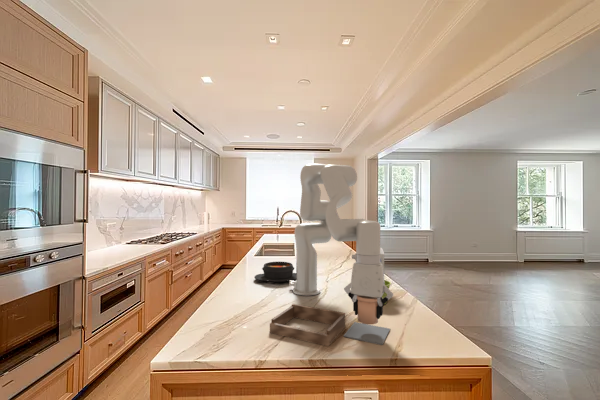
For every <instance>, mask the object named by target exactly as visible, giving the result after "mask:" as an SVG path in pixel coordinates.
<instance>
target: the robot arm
mask: <svg viewBox="0 0 600 400" xmlns="http://www.w3.org/2000/svg"><path fill="white" fill-rule="evenodd" d="M299 176H300V177H299V178H300V184H301V198H300V208H299V209H300V210H299V216H300V218H301V220H303V221H306V222H304V223H299V224H297V225H296V226H295V228H294V239H295V246H296V247H295V249H296V250H295V251H296V261H295V262H296V265H295V266H296V267H295V268H296V270H295V271H296V272H295V273H296V279H295V280H289V281H288V283H289V284H288V285H289V286H290V287H292V286H293V288H292V292H293V294H295V295H298V296H303V297H304V296H306V297H308V296H316V295H319V294H320V293H321V288H319V287H318V252H317V250H316V249H315V248H314V246H313V245H315V244H326V243H328V242H330V241H331V239H332V238H333V240H335V241H337V242H341V243H342V242H355V243H356V244H355V252H356V253H355V254H351V259H354V261H355V262H353V264H352V269H351V270H352V271H351V280H350V283H349V284H347V285H346V286H345V287H344V288H343V290H344V292H345V294H347V296H348V297H349V298H350V300H351V301H352V302H353V304H352V305H353V306H352V308H353V309H352V310H353V312H354V316H358V300H357V296H365V297H372V298H376V299H377V302H378V306H377V319H378V320H379V319H380V318H381V317H382V316H383V313H384V307H383V306H384V305H386V304H387V303H388V301H390V299H392V298H393V297H394V293H393V292H392V291H391V290H390V288H389V289H388V288H387V287H386V286H385V281H384V280H385V271H384V272H383V266H382V264H380V248H381V224H380V222H378V221H376V220H369V219H365V218H364V219H363V218H340V216H339V214H338V211H337V209H339V208H341V207H344V206H345V205H347V204H349V202H351V200H352V199H353V193H352V190H351V188H350V187H353V186H355V184H356V183H357V181H358V174H357V170H356V169H355V168H354V167H353V166H352V165H349V164H348V165H347V164H324V163H308V164H305V165H304V166H303V167H302V168H301V171H300V175H299ZM320 185H323V186H324V189H325V191H326V194H327V196H328V198H329V200H325V199H323V200H322V199H321V197H322V191H321V188H320ZM384 292H385V293H386V294H387V296H386V297H385V298H382V296H383V294H384ZM386 302H387V303H386ZM385 303H386V304H385Z"/></svg>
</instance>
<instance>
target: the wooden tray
mask: <svg viewBox="0 0 600 400" xmlns="http://www.w3.org/2000/svg"><path fill="white" fill-rule="evenodd" d="M293 318H296V319H301V320H306V321H311V322H315V323H321V324H326V325H330V326H329V327H328V329H327V330H326V332H325V333H323V332H319V331H313V330H309V329H305V328H300V327H295V326H291V325H286V324H287V323H289V322H290V321H291V320H293ZM270 321H271V322H270V323H269V334H274V335H278V336H282V337H286V338H290V339H291V338H292V339H296V340H300V341H304V342H308V343H313V344H317V345H321V346H325V347H329V346H331V344H332V343H333V341H334V340H335V339H336V338H337V337H338V336H339V334H340V333H341V332H342V331H343V330H344V329H345V327H346V312H343V311H342V312H341V311H337V310H330V309H326V308H325V309H324V308H320V307H313V306H307V305H302V304H296V303H292V304H291V306H289V307H288V308H286V309H285V310H283V311H281V312H280V313H278V314H277V315H276V316H274V317H272V318H271V320H270Z"/></svg>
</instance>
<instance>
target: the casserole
mask: <svg viewBox="0 0 600 400" xmlns="http://www.w3.org/2000/svg"><path fill="white" fill-rule="evenodd" d="M261 270H262V271H263V273H259V274H256V275H254V279H255V280H257V281H262V282H266V281H267V282H270V283H275V284H277V283H280V284H281V283H286V282H289V281H290V280H292V281H295V280H296V272H294V270H295V267H294V265H293V263H292V262H289V261H270V262H267V263H264V265H263V267H262V268H261Z"/></svg>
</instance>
